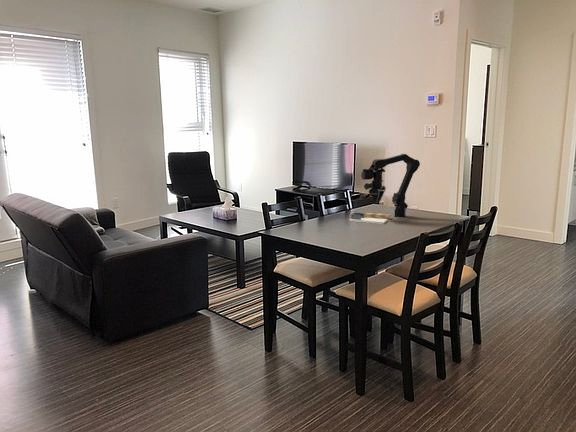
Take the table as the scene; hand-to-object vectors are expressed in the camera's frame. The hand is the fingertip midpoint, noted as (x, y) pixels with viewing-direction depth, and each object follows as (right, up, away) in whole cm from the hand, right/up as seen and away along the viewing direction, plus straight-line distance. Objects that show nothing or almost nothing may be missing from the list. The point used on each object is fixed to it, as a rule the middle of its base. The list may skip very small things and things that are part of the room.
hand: (377, 202), depth 303 cm
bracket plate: (-7, -12, -8) cm, 16 cm away
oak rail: (-1, -10, +3) cm, 11 cm away
